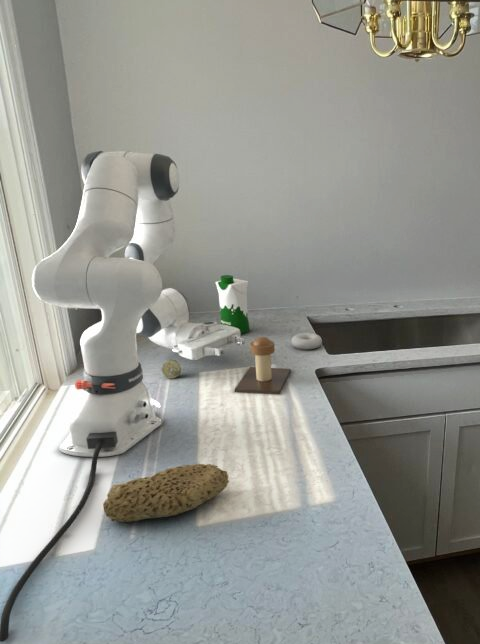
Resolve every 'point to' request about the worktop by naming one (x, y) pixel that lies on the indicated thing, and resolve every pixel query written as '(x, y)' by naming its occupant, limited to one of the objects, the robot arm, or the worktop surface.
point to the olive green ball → (171, 369)
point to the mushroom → (262, 357)
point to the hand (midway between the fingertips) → (232, 347)
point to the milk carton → (233, 302)
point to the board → (270, 386)
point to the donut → (306, 341)
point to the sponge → (164, 493)
